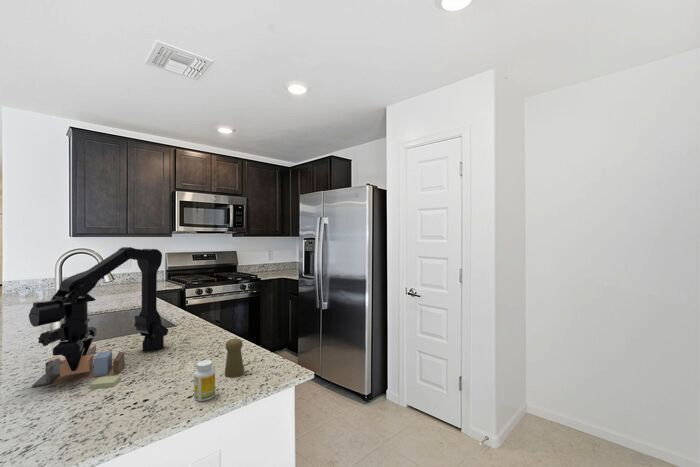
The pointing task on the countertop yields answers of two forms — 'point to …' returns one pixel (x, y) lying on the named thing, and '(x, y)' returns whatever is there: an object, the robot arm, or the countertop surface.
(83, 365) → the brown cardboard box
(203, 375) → the supplement bottle
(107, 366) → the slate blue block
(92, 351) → the packaged product
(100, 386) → the olive book
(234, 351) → the cork
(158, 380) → the countertop surface
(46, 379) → the bookend
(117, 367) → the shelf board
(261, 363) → the countertop surface
